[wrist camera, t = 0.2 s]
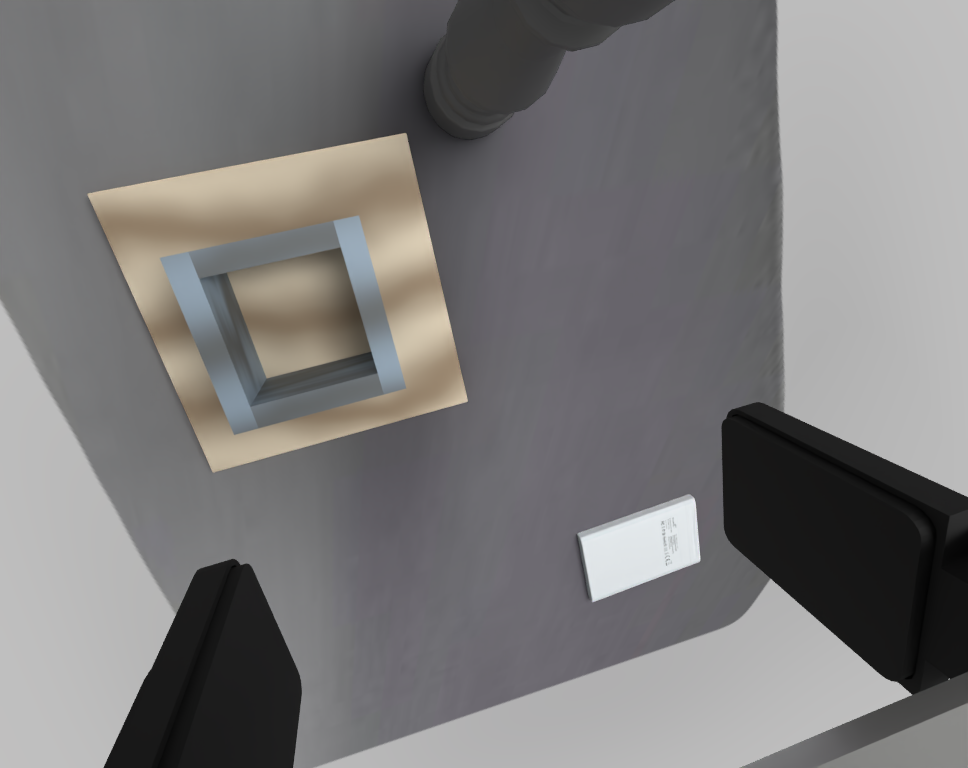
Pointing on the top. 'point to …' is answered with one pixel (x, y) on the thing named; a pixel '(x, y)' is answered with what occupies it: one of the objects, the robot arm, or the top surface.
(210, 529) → the top surface
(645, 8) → the candle holder
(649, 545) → the external hard drive
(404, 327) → the socket board
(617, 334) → the top surface
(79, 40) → the top surface
